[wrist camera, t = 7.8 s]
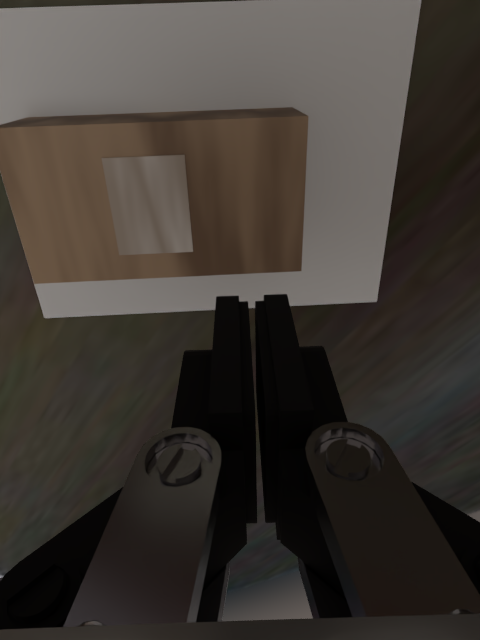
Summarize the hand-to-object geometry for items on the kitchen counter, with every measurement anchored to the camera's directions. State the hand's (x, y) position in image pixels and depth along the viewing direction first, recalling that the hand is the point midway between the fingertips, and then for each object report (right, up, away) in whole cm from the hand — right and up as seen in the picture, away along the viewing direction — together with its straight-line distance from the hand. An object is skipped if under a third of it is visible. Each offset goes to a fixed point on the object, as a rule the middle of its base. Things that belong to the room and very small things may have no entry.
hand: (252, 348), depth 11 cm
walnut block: (+3, +8, +14) cm, 17 cm away
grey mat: (-3, +9, +16) cm, 19 cm away
